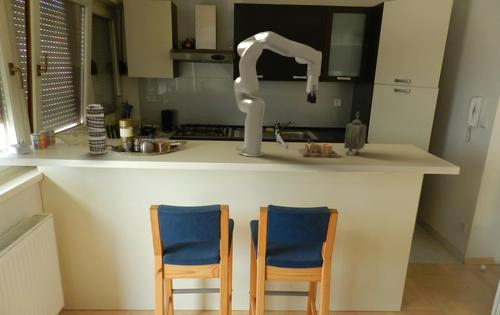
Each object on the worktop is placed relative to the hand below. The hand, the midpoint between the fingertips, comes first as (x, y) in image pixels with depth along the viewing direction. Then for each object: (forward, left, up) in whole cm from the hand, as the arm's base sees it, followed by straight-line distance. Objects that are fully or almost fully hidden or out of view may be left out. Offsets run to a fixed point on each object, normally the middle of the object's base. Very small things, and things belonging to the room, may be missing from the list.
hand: (311, 102), depth 197 cm
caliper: (-15, +8, -29) cm, 33 cm away
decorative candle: (-118, -22, -28) cm, 124 cm away
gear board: (+3, -15, -28) cm, 32 cm away
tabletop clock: (+25, -12, -28) cm, 40 cm away
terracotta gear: (+7, -15, -27) cm, 31 cm away
